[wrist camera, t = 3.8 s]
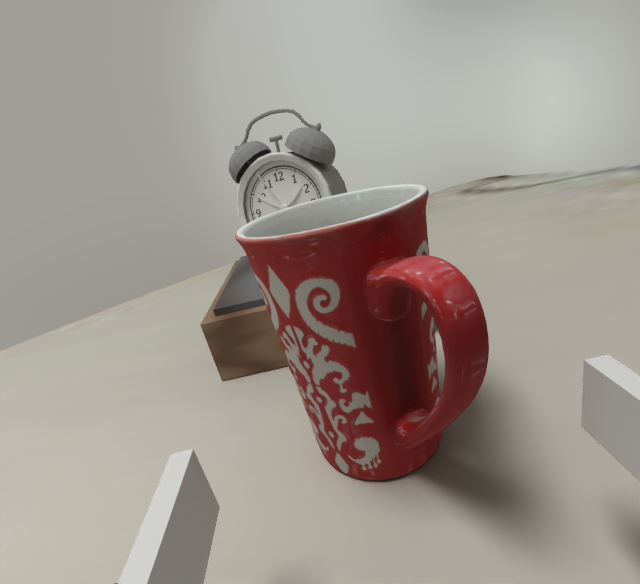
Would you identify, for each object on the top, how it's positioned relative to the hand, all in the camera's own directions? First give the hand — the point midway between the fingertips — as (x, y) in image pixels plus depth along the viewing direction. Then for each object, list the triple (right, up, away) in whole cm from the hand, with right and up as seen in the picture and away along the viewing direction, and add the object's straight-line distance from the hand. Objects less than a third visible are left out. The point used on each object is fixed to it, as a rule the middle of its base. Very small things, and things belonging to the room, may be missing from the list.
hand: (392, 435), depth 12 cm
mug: (+2, -4, +8) cm, 9 cm away
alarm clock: (-4, +10, +47) cm, 48 cm away
